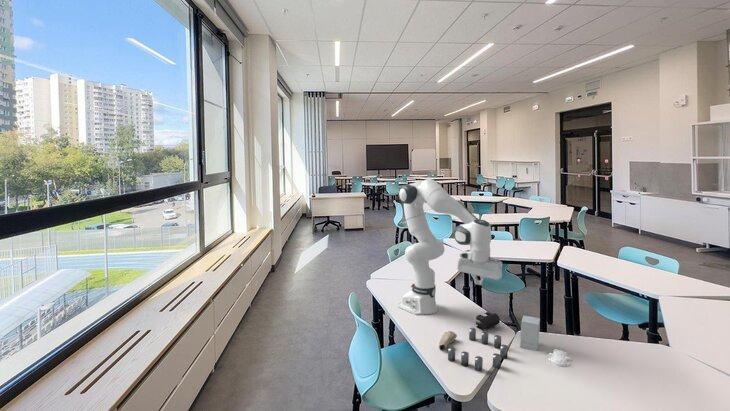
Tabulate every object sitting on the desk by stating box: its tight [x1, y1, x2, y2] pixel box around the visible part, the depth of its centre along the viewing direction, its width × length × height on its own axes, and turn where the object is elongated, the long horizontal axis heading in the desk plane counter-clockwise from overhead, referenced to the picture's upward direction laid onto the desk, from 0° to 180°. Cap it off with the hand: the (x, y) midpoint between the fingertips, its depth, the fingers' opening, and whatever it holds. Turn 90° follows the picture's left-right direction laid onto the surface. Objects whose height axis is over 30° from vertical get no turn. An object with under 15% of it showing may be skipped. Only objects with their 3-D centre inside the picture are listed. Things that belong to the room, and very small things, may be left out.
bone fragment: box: [438, 330, 458, 351], centre depth 177 cm, size 14×6×5 cm, turn 146°
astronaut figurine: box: [548, 348, 573, 368], centre depth 163 cm, size 9×12×3 cm
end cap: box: [475, 311, 501, 332], centre depth 192 cm, size 10×7×7 cm
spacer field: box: [447, 327, 509, 372], centre depth 167 cm, size 20×25×5 cm
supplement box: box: [519, 315, 541, 351], centre depth 174 cm, size 7×7×13 cm
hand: (478, 284), depth 176 cm, fingers closed
